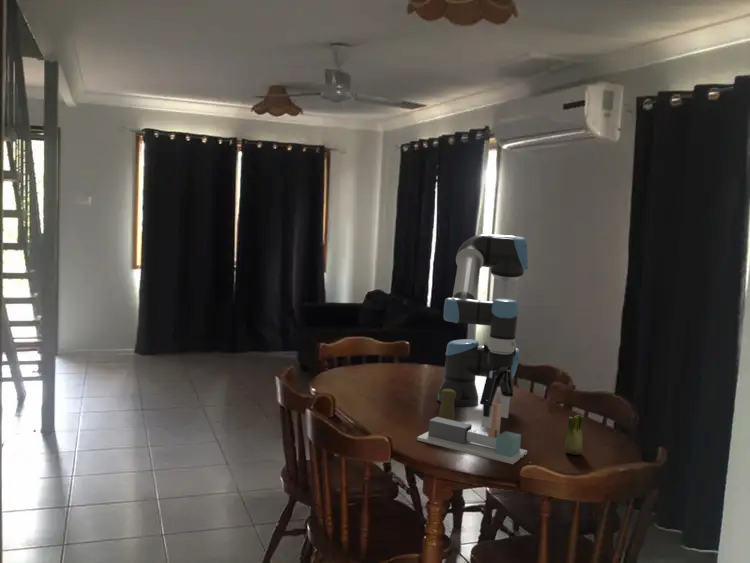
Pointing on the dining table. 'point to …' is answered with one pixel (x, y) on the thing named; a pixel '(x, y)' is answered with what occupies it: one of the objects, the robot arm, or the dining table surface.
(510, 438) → the socket block
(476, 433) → the inner bar
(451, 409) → the cork
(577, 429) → the fennel bulb
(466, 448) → the base board
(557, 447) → the dining table surface
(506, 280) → the robot arm
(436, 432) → the outer sleeve
